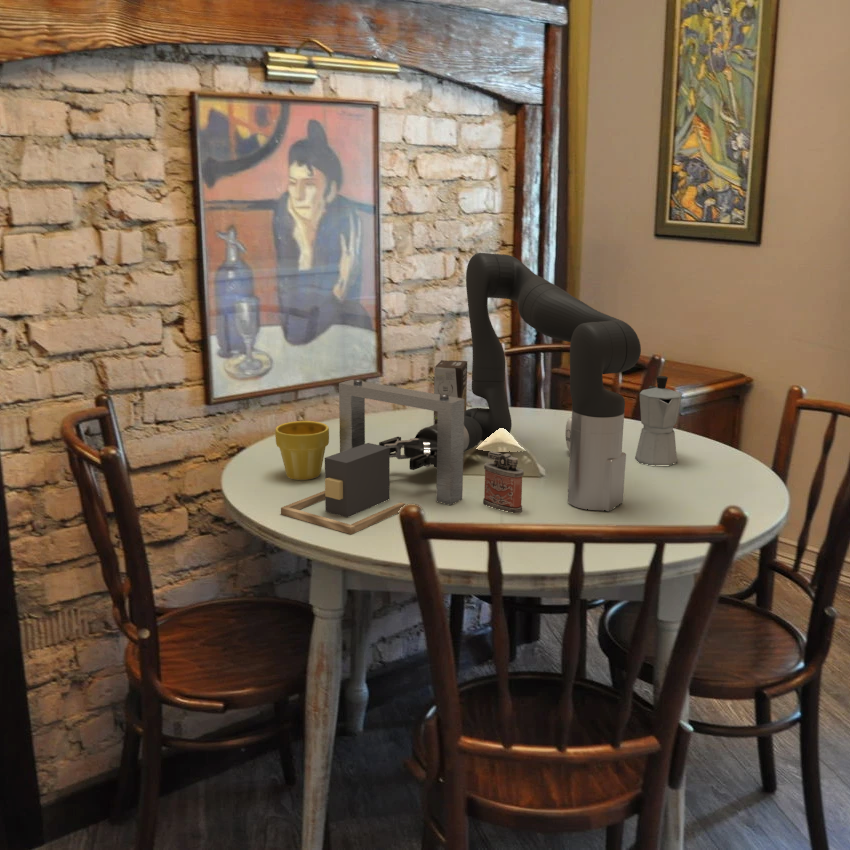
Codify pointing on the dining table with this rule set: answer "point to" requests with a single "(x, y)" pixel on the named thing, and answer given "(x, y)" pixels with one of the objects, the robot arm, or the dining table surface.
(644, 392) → the coffee maker
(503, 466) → the lighter
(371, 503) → the dark grey box
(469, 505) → the dining table surface
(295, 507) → the bay
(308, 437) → the plant pot
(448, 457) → the grey metal arch
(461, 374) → the coffee box
